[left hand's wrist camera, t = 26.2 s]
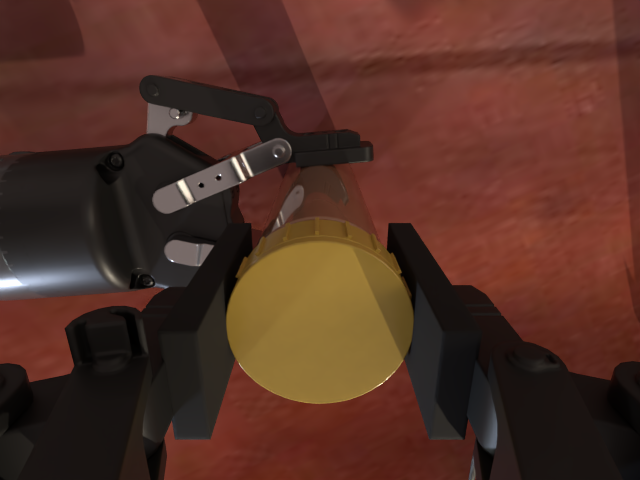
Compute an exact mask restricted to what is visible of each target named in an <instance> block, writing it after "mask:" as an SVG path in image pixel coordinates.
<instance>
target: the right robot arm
mask: <svg viewBox="0 0 640 480" xmlns="http://www.w3.org/2000/svg"><path fill="white" fill-rule="evenodd" d="M139 89H140V93H141V96H142V97H143V99H144V100H145V101H147V102H148V116H147V134H144V135H141V136H140V137H138V138H137V139H136V140H134V141H133V142H132V143H130V144H127V145H119V146H107V147H95V148H84V149H72V150H60V151H48V152H37V153H35V152H13V153H11V154H9V155H2V156H0V300H22V299H34V298H47V297H61V296H75V295H89V294H102V293H116V292H129V291H136V290H141V289H146V288H152V287H157V288H163V289H166V288H168V287H187V286H188V284H189V283H190V281H191V280H192V278H193V277H194V275H195V274H196V272H197V271H198V269H199V268H200V266H201V265H202V263H203V262H204V260H205V259H206V257H207V256H208V254H209V253H210V251H211V250H212V248H213V247H214V245H215V244H216V242H217V241H218V239H219V238H220V236H221V235H222V233H223V232H224V230H225V229H226V227H227V226H228V224H229V223H244V218H243V216H242V214H241V211H240V209H239V207H238V200H239V184H240V183H242V182H244V181H246V180H248V179H249V178H251V177H253V176H255V175H258V174H260V173H263V172H265V171H267V170H270V169H272V168H274V167H277V166H279V165H282V164H284V163H296V168H299V167H311V166H323V165H335V164H347V163H359V162H369V161H372V160H373V145H372V144H371V142H369V141H360V135H359V134H358V133H357V132H354V131H351V130H348V129H344V130H332V131H320V132H309V133H295V132H293V131H291V130H289V129H288V128H287V126H286V125H285V123H284V121H283V119H282V117H281V115H280V112H279V107H278V104H277V103H276V101H275V100H274V99H272V98H269V97H265V96H260V95H256V94H251V93H246V92H242V91H237V90H232V89H227V88H223V87H218V86H213V85H209V84H204V83H199V82H195V81H190V80H185V79H180V78H176V77H169V76H155V75H149V76H146V77H144V78H143V79H142V81H141V82H140V86H139ZM198 114H202V115H207V116H212V117H217V118H222V119H226V120H231V121H236V122H241V123H246V124H251V125H254V127H255V129H256V131H257V133H258V135H259V137H260V139H261V141H260V142H258V143H255V144H253V145H250V146H247V147H245V148H242V149H240V150H237V151H235V152H233V153H230V154H228V155H226V156H223V157H221V158H219V159H214V158H212V157H211V156H209V155H207V154H205V153H204V152H202V151H200V150H198V149H197V148H195V147H193V146H191V145H190V144H188V143H186V142H185V141H183V140H181V139H179V138H178V137H176V136H174V135H172V133H173V130H174V128H175V127H176V126H183V125H187V124H190V123H193V122H194V121H195V120H196V118H197V116H198ZM251 230H252V245H253V249H254V248H255V247H256V246H257V244H258V241H259V239H260V236H261V234H262V231H260V230H255V229H251Z"/></svg>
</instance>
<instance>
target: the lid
mask: <svg viewBox="0 0 640 480" xmlns="http://www.w3.org/2000/svg"><path fill="white" fill-rule="evenodd" d="M400 273H402V272H401V269H400V267H399V265H398V263H397V260H396V258H395V256H394V254H393V253H391V254H390V253H389V252H388V251H387V250H386V248H385V247H384V246H383V245H382V244H381V243H380V242H379V241H378V240H377V239H376V236H375V235H374V234H373V233H372V234H371V235H370V234H368V233H367V232H365V231H363V230H361V229H359V228H357V227H355V226H352V225H350V224H349V222H348V221H345V223H342V222H338V221H332V220H319V217H316V218H315V220H308V221H302V222H297V223H294V224H291V225H290V223H286V225H285V227H283V228H281V229H279V230H277V231H275V232H273V233H272V234H270V235H269V236H267V237H266V238H265V237H264V236H263V237H262V238H261V239H260V242H259V244H258V245H257V246H256V247H255V248H254V249H253V251H252V252H251V253H250V255H249V256H248V258H247V257H244V259H243V261H242V263H241V265H240V268H239V270H238V272H237V274H236V278H238V279H237V281H236V284H235V286H234V288H233V291H232V293H231V295H230V298H229V302H228V305H227V310H226V327H227V337H228V342H229V345H230V348H231V350H232V352H233V354H234V357H235V358H236V360H237V361H238V363H239V365H240V366H241V367H242V368H243V370H244V371H245V372H246V373H247V374H248V375H249V376H250V377H251V378H252V379H253V380H254V381H255V382H257V383H258V384H260V385H261V386H262V387H264V388H265V389H267V390H269V391H271V392H273V393H275V394H277V395H279V396H282V397H284V398H288V399H291V400H295V401H300V402H305V403H334V402H341V401H345V400H349V399H352V398H355V397H358V396H361V395H363V394H365V393H367V392H369V391H371V390H373V389H374V388H376V387H378V386H379V385H381V384H382V383H383V382H384V381H386V380H387V379H388V378H389V377H390V376H391V375H392V374H393V373H394V372H395V371H396V370H397V369H398V367H399V366H400V364H401V363H402V362H403V360H404V358H405V356H406V354H407V352H408V350H409V347H410V345H411V342H412V334H413V324H414V310H413V306H412V302H411V296H412V295H411V293H410V291H409V288H408V286H407V284H406V281H405V279H404V277H401V275H400Z"/></svg>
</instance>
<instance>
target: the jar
mask: <svg viewBox="0 0 640 480" xmlns="http://www.w3.org/2000/svg"><path fill="white" fill-rule="evenodd" d="M316 217H319V220H332V221H338V222H342V223H345V221H348V222H349V224H350V225H352V226H355V227H357V228H359V229H361V230H363V231H365V232H367V233H368V234H370V235H371V234H372V233H373V234H374V235H375V236H376V239H377V240H378V241H379V242H380V243H381V241H380V239H379V236H378V234H377V231H376V229H375V226H374V224H373V221H372V219H371V216H370V213H369V211H368V208H367V206H366V203H365V201H364V198H363V196H362V193H361V191H360V188H359V186H358V183H357V180H356V178H355V175H354V173H353V170H352V168H351V165H350V163H347V164H335V165H323V166H311V167H299V168H296V163H289V166H288V168H287V171H286V173H285V176H284V178H283V181H282V183H281V186H280V188H279V191H278V193H277V196H276V198H275V201H274V203H273V206H272V209H271V211H270V214H269V216H268V219H267V221H266V224H265V226H264V229H263V231H262V234H261V236H260V239H261V238H262V237H263V236H264V237H265V238H266V237H267V236H269V235H270V234H272V233H273V232H275V231H277V230H279V229H281V228H283V227H285V225H286V223H290V225H291V224H294V223H297V222H302V221H308V220H315V218H316ZM260 239H259V241H258V244H259V242H260ZM258 244H257V245H258Z"/></svg>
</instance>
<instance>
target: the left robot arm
mask: <svg viewBox="0 0 640 480" xmlns="http://www.w3.org/2000/svg"><path fill="white" fill-rule="evenodd" d="M252 251H253V245H252V230H251V223H229V224H228V226H227V227H226V229H225V230H224V232H223V233H222V235H221V236H220V238H219V239H218V241H217V242H216V244H215V245H214V247H213V248H212V250H211V251H210V253H209V254H208V256H207V257H206V259H205V260H204V262H203V263H202V265H201V266H200V268H199V269H198V271H197V272H196V274H195V275H194V277H193V278H192V280H191V281H190V283H189V284H188V286H187V287H168V288H166V289H164V290H163V291H161V292H159V293H158V294H156V295H155V296H154V297H153V298H152V299H151V300H150V302H149V303H148V304H147V305H146V308H144V309H143V311H142V312H140V311H139V310H137V309H136V308H133V307H128V306H111V307H106V308H101V309H97V310H94V311H91V312H88V313H86V314H83V315H81V316H80V317H78V318H76V319H75V320H73V321H72V322H71V323H70V324H69V325H68V326H67V327H66V328H65V331H66V335H67V339H68V343H69V347H70V351H71V354H72V358H73V362H74V368H73V370H72V372H71V374H67V375H64V376H59V377H54V378H49V379H44V380H39V381H34V382H29V379H28V376H27V373H26V370H25V369H24V368H23V367H21V366H20V365H17V364H10V363H6V364H0V480H164V474H165V466H166V459H167V453H166V446H165V440H164V436H165V434H166V432H167V430H168V427H169V425H170V423H171V421H172V424H173V430H174V436H175V439H211V436H212V432H213V429H214V426H215V423H216V419H217V416H218V413H219V410H220V407H221V403H222V400H223V397H224V394H225V391H226V387H227V384H228V381H229V378H230V374H231V371H232V368H233V365H234V362H235V357H234V354H233V352H232V350H231V348H230V345H229V342H228V337H227V327H226V310H227V305H228V302H229V298H230V295H231V293H232V291H233V288H234V286H235V284H236V281H237V279H238V278H236V274H237V272H238V270H239V268H240V265H241V263H242V261H243V259H244V257H247V258H248V256H249V255H250V253H251V252H252ZM387 251H388V252H389V253H390V254H391V253H393V254H394V256H395V258H396V260H397V263H398V265H399V267H400V269H401V272H402V273H400V275H401V277H404V279H405V281H406V284H407V286H408V288H409V291H410V293H411V295H412V296H411V302H412V306H413V310H414V324H413V334H412V342H411V345H410V347H409V350H408V352H407V354H406V356H405V358H404V359H405V362H406V366H407V369H408V372H409V375H410V378H411V382H412V385H413V388H414V391H415V395H416V398H417V401H418V404H419V407H420V411H421V414H422V417H423V420H424V424H425V427H426V430H427V433H428V436H429V439H465V434H466V428H467V422H468V419H469V421H470V424H471V426H472V428H473V430H474V433H475V435H476V440H475V446H474V451H473V457H472V462H471V468H470V473H469V480H475V475H476V480H640V362H634V361H631V362H624V363H620V364H619V365H618V366H616V367H615V369H614V372H613V375H612V378H611V381H610V380H605V379H600V378H595V377H590V376H585V375H580V374H576V373H572V372H569V371H568V369H567V367H566V365H565V364H564V363H563V362H562V360H561V359H560V358H559V357H558V356H557V355H555V354H554V353H552V352H551V351H549V350H548V349H546V348H543V347H541V346H539V345H536V344H533V343H529V342H524V341H523V340H522V339H521V338H520V337H519V335H518V334H517V333H516V332H515V330H514V329H513V328H512V327H511V325H510V324H509V323H508V322H507V320H506V319H505V318H504V317H503V316H501V313H500V312H499V310H498V309H497V308H496V307H494V304H493V303H492V302H491V300H490V299H489V298H488V297H487V295H486V294H484V293H483V292H481V291H480V290H478V289H476V288H475V287H473V286H471V285H452V284H451V283H450V281H449V280H448V278H447V277H446V275H445V274H444V272H443V271H442V269H441V268H440V266H439V265H438V263H437V262H436V260H435V259H434V257H433V256H432V254H431V253H430V251H429V250H428V248H427V247H426V245H425V244H424V242H423V241H422V239H421V238H420V236H419V235H418V233H417V232H416V230H415V229H414V227H413V226H412V224H411V223H389V225H388V241H387Z"/></svg>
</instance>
